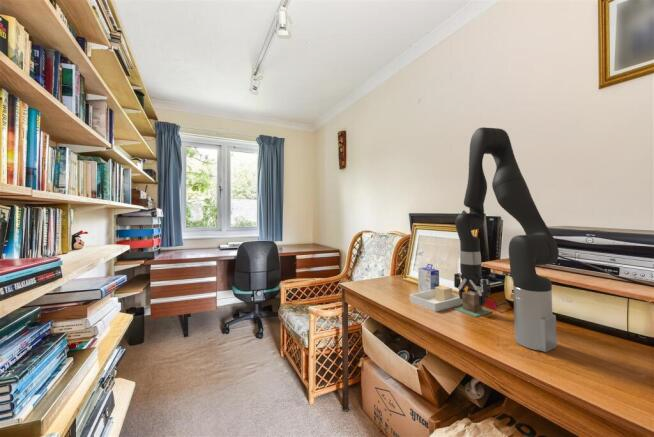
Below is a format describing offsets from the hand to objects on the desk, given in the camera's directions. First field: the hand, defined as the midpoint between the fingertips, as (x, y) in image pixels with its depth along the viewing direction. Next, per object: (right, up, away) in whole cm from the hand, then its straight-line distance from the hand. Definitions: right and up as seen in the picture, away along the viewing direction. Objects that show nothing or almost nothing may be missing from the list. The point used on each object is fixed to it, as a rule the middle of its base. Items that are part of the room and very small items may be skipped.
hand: (471, 301), depth 107 cm
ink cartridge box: (-7, -4, +26) cm, 27 cm away
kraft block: (-6, -4, +13) cm, 14 cm away
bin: (-10, -4, +11) cm, 15 cm away
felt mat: (0, -4, 0) cm, 4 cm away
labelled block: (0, -3, 0) cm, 3 cm away
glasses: (+13, -4, +8) cm, 16 cm away
